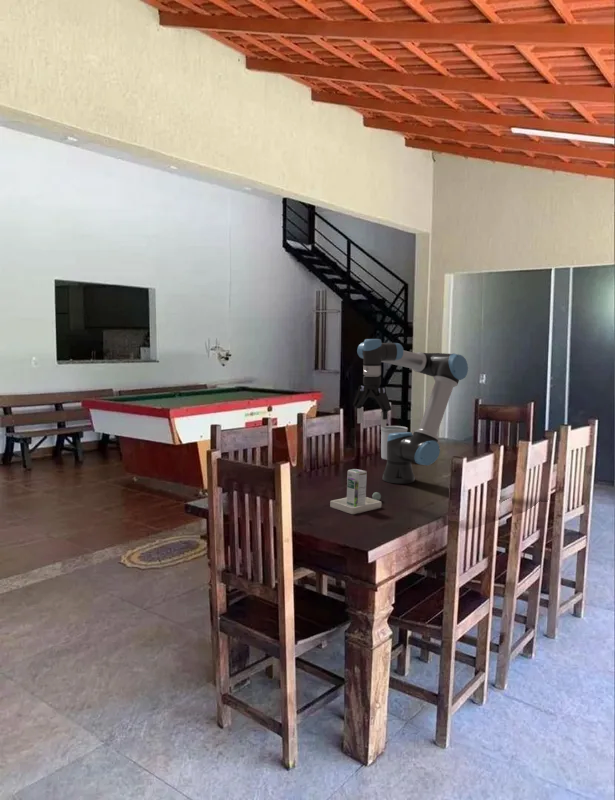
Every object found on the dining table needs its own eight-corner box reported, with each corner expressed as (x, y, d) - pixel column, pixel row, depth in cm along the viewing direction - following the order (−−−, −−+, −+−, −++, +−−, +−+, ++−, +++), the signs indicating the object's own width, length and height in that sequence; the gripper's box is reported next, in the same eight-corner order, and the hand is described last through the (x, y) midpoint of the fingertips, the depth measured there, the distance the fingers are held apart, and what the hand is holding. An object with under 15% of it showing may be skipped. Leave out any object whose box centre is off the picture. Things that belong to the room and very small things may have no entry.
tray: (358, 500, 262) (358, 494, 262) (381, 507, 252) (381, 501, 252) (330, 506, 252) (330, 500, 251) (352, 514, 242) (352, 508, 242)
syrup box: (345, 505, 252) (346, 470, 251) (356, 503, 256) (357, 468, 254) (355, 508, 248) (356, 472, 246) (366, 506, 252) (367, 470, 250)
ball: (376, 499, 265) (376, 490, 265) (382, 500, 262) (382, 492, 262) (370, 500, 263) (370, 492, 262) (376, 502, 260) (376, 493, 259)
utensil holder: (375, 456, 356) (376, 425, 354) (399, 455, 360) (400, 425, 358) (386, 461, 342) (387, 429, 340) (411, 460, 346) (412, 429, 344)
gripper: (345, 374, 272) (344, 422, 274) (388, 378, 253) (387, 429, 256) (357, 373, 277) (356, 420, 279) (400, 376, 258) (399, 427, 261)
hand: (371, 425), depth 268 cm, fingers open, 13 cm apart
